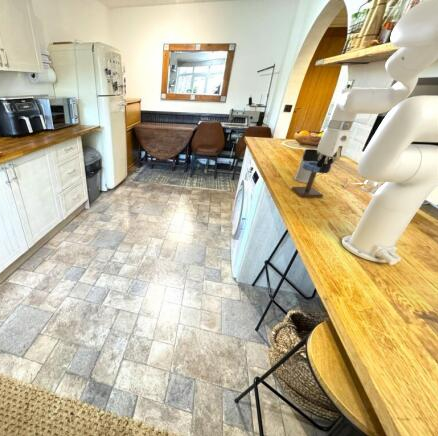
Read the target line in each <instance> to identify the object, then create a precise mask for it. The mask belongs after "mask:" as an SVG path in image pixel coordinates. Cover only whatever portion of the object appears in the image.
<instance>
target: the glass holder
mask: <svg viewBox="0 0 438 436" xmlns="http://www.w3.org/2000/svg"><path fill="white" fill-rule="evenodd" d="M306 161H316V162H318V153H317V149H313V148H306V149H305V150H304V152H303V154H302V157H301V160H300V162H299V165H298V169H297V172H296V175H295V176H294V177H293V180H294V181H297V182H299V183H302V184H303V183H304V184H307V182H308V180H309V177H310V174H311V171H308V170H305V169H304V168H302V166H303V163H304V162H306ZM334 164H335V162H333V164H331V168H332V167H333V166H334ZM324 174H325V173H318V174H316V176H315V178H316V177H318V176H321V175H324Z"/></svg>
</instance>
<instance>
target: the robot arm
mask: <svg viewBox="0 0 438 436" xmlns="http://www.w3.org/2000/svg"><path fill="white" fill-rule="evenodd" d="M390 43H391V45H392V46H393V47H396V48H398V49H397V50H395V52H394V53H392V55H390V56H389V58H387V61H386V62H385V71H386V74H387V75H388V76H389V77H390V78H391V79H392V80H394V81H396V82H395V83H394V84H393V85H391V86H390V87H389V88H352V87H351V88H349V87H347V88H343V89H342V90H340V91H339V93H338V94H337V97H336V101H335V104H334V106H333V108H332V112H331V114H330V117H329V119H328V122H327V125H326V128H325V129H324V131H323V133H322V135H321V138H320V140H319V142H318V145H317V147H316V150H317V153H318V163H317V165H316V166H317V167H321V169H320V171H319V172H320V173H319V174H322V173H324V174H328V173H329V172H330V171H329V168H330V166H332V164H333V162H334V163H335V162H339V161H340V159H341V158H343V156H344V155H345V152H346V150H347V147H348V144H349V141H350V137H351V129H352V126H353V124H354V122H355V119H356V117H357V114H358V115H359V114H361V115H362V114H365V115H366V114H367V115H368V114H369V115H381V114H385V113H387V114H386V115H385V117H384V118H383V119H382V121H381V123H380V124H379V126H378V128H377V129H376V130H375V133H374V134H373V135H372V137H371V139H370V141H368V144H367V145H366V147H365V149H364V150H363V152H362V154H361V156H360V158H359V160H358V163H357V173H358V175H359V177H360V178H362V179H363V180H365V181H366V180H369V181H376V182H382V184H381V187H380V188H379V189H378V190H377V191H376V192H375V191H374V194H373V195H372V197H371V199H370V201H369V203H368V204H367V206H366V208H365V210H364V211H363V214H362V216H361V218H360V219H359V221H358V223H357V225H356V227H355V229H354V231H353V233H352V234H349V235H345V236H344V237H343V238H342V240H341V243H342V246H343V247H344V249H346V250H347V251H348V252H350V253H352V254H353V255H355V256H357V257H359V258H361V259H364V260H367V261H370V262H375V263H381V264H383V263H387V264H389V265H390V266H394V265H396V264H398V262H400V261H402V259H403V258H402V257H401V256H399V255H398V254H396V251H397V250H398V246H397V245H396V244H397V242H398V241H399V239H400V238H401V236H402V235H403V233H404V232H405V230H406V229H407V227H408V226H409V224H410V223H411V221H412V220H413V218H414V216H416V214H417V212H418V211H419V210H420V208H421V206H422V205H423V204H424V202H425V201H426V199H427V198H428V197H429V195H430V194H431V193H432V192H433V191H434V190H435V189H436V187H438V145H435V144H419V143H438V95H414V96H411V94H412V92H413V91H414V90H415V88H416V86H417V85H418V81H419V76H420V74H421V73H422V72H423V71H424V70H426V69H427V68H428V67H430V66H431V65H432V64H434V63H435V62H436V61H437V60H438V0H423V1H421V2H419V3H417V4H415V5H414V6H412V7H411V8H409V9H408V10H407V11H406V12H405V13H404V14H403V15H402V16H401V17H400V18H399V19H398V21H397V22H396V24H395V25H394V27H393V29H392V31H391V34H390ZM410 96H411V97H410ZM414 142H415V143H414ZM417 143H418V144H417ZM333 165H334V164H333ZM328 171H329V172H328Z"/></svg>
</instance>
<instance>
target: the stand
mask: <svg viewBox="0 0 438 436" xmlns="http://www.w3.org/2000/svg"><path fill="white" fill-rule="evenodd" d="M317 174H318V173H317V172H313V171H312V172H311V174H310V177H309V180H308V182H307V183H306V186H292V187H291V191H293V192H294V193H295V194H296V195H298V196H299V197H300V198H302V199H303V198H304V199H305V198H306V199H308V198H309V199H312V198H313V199H322V198H323V196H324V194H323V193H321V192H319V190H317V189H315V187H312V186H313V184H314V181H315V179H316V177H317ZM315 176H316V177H315Z"/></svg>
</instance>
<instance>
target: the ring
mask: <svg viewBox="0 0 438 436" xmlns="http://www.w3.org/2000/svg"><path fill="white" fill-rule="evenodd" d="M317 163H318V162H316V161H306V162H304V163H303V166H302V168H304V169H305V170H308V171H311V172H312V171H313V172H317V173H316V174H321V173H320V172H319V171H320V169H321V167H317V166H316V165H317ZM331 166H332V165H331ZM331 166H330V168H329V171H328V173H330V171H331V169H332V167H331Z"/></svg>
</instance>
